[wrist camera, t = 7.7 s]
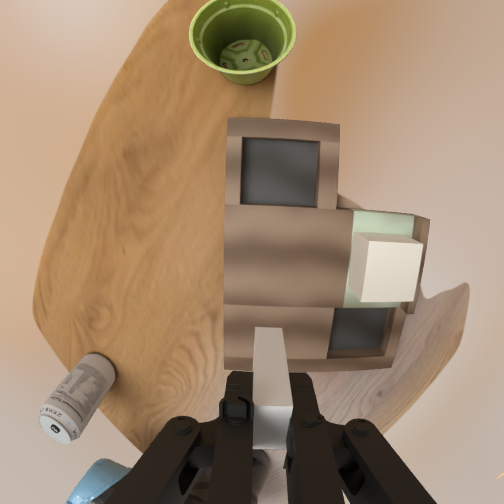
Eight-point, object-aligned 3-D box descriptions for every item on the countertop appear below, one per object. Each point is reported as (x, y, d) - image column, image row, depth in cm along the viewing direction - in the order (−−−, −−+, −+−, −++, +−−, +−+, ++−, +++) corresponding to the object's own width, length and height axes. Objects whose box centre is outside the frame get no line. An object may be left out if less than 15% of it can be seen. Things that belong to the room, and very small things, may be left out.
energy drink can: (78, 363, 40) (29, 421, 25) (93, 343, 39) (40, 404, 24) (107, 388, 41) (66, 452, 26) (124, 370, 40) (81, 439, 25)
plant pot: (268, 19, 28) (270, -20, 19) (301, 82, 30) (313, 54, 21) (194, 46, 29) (175, 12, 21) (222, 111, 31) (210, 90, 23)
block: (394, 284, 33) (413, 301, 28) (347, 284, 33) (360, 302, 28) (402, 234, 31) (423, 243, 26) (353, 231, 31) (369, 241, 26)
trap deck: (385, 358, 38) (396, 376, 33) (226, 358, 38) (222, 378, 34) (415, 140, 31) (434, 137, 26) (230, 121, 31) (225, 113, 27)
